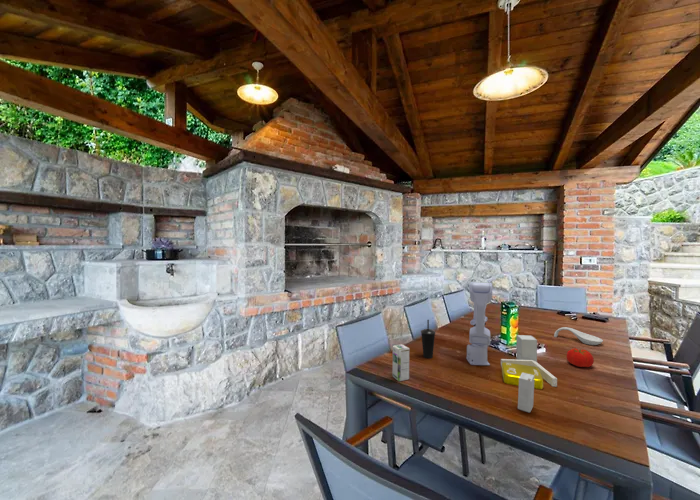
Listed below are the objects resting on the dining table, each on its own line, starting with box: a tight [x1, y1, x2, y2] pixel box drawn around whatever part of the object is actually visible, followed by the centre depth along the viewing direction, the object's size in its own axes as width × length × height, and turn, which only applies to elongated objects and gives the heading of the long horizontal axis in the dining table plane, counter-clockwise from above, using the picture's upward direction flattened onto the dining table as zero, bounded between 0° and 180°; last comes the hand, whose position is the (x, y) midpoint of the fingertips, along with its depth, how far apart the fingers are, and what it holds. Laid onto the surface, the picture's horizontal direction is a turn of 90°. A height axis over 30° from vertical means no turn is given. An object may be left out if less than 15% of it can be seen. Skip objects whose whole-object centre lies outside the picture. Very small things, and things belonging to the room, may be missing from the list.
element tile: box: [501, 362, 544, 390], centre depth 135 cm, size 15×15×5 cm
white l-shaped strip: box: [500, 358, 558, 387], centre depth 138 cm, size 16×19×4 cm
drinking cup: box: [420, 319, 436, 359], centre depth 160 cm, size 8×8×20 cm
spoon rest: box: [553, 326, 604, 346], centre depth 183 cm, size 24×12×7 cm, turn 43°
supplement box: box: [515, 334, 538, 363], centre depth 153 cm, size 7×7×13 cm
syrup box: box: [391, 344, 410, 382], centre depth 136 cm, size 6×6×14 cm
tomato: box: [566, 347, 595, 368], centre depth 149 cm, size 11×11×8 cm
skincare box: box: [517, 373, 535, 413], centre depth 112 cm, size 6×4×12 cm
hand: (479, 335), depth 166 cm, fingers closed
